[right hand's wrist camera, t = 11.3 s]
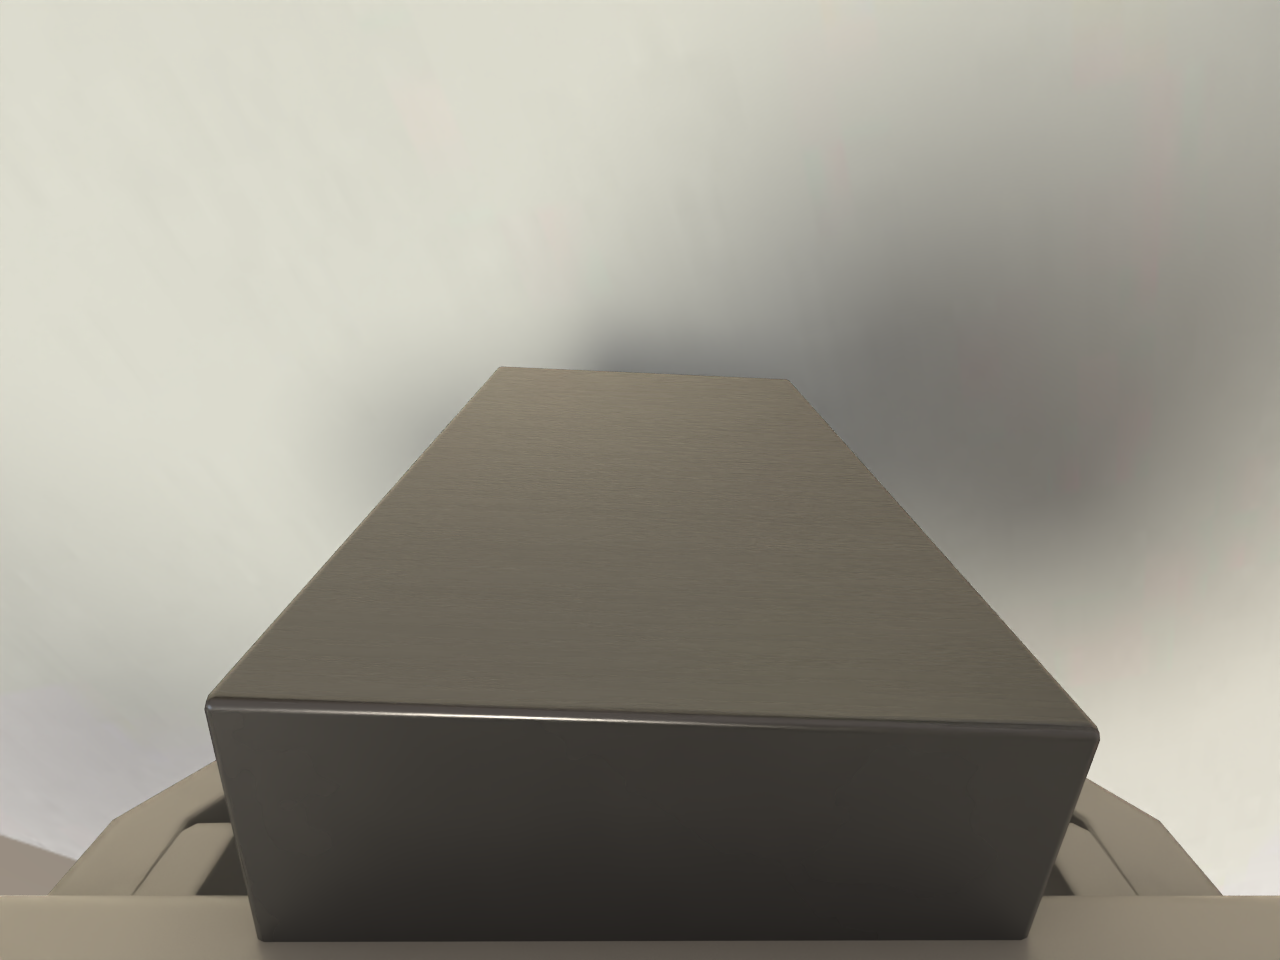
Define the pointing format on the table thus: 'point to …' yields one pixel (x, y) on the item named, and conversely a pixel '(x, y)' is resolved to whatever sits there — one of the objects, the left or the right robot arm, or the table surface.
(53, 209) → the table surface
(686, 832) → the box
